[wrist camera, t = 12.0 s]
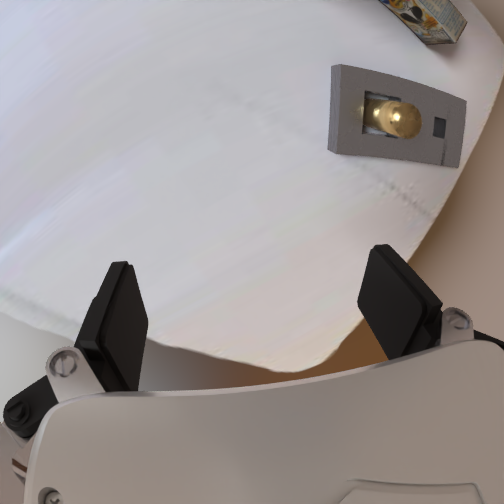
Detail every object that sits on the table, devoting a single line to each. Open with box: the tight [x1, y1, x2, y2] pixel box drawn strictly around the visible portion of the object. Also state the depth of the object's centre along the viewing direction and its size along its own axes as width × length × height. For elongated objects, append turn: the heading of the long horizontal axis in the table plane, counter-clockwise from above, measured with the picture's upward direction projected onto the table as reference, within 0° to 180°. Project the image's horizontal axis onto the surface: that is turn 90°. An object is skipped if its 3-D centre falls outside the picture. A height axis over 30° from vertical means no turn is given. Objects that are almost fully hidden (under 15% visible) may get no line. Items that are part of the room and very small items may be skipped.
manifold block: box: [328, 64, 467, 168], centre depth 33 cm, size 12×24×3 cm, turn 90°
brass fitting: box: [363, 98, 422, 139], centre depth 30 cm, size 4×4×9 cm
